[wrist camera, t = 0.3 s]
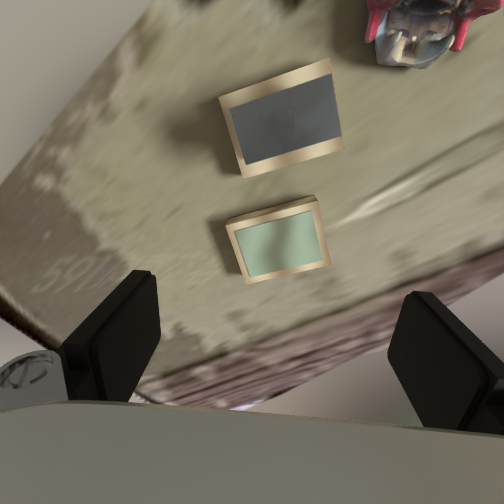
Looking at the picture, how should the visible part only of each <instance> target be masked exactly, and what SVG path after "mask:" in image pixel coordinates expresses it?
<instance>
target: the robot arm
mask: <svg viewBox="0 0 504 504" xmlns="http://www.w3.org/2000/svg"><path fill="white" fill-rule="evenodd" d="M160 337H161V328H160V317H159V306H158V295H157V283H156V277H155V275H152V274H151V272H150V271H144V270H133V271H132V272H131V273H130V274H129V275H128V276H127V277H126V278H125V279H124V280H123V281H122V282H121V283H120V284H119V285H118V286H117V287H116V288H115V289H114V290H113V291H112V292H111V293H110V294H109V295H108V296H107V297H106V299H105V300H104V301H103V302H102V303H101V304H100V305H99V306H98V307H97V308H96V309H95V310H94V311H93V312H92V313H91V314H90V315H89V316H88V317H87V318H86V319H85V320H84V321H83V322H82V323H81V324H80V325H79V326H78V327H77V328H76V329H75V330H74V331H73V332H72V333H71V334H70V336H69V337H68V338H67V339H66V340H65V341H64V342H63V343H62V345H61V346H60V347H59V348H58V349H57V350H56V352H54V351H48V350H41V351H33V352H30V353H26V354H23V355H21V356H18V357H16V358H14V359H12V360H11V361H9V362H7V363H6V364H4V365H3V366H2V367H1V368H0V504H504V363H503V362H502V361H501V360H500V359H499V358H498V357H497V356H496V355H495V354H494V353H493V352H492V351H491V350H490V349H489V348H488V347H487V346H486V345H485V344H484V343H482V341H481V340H480V339H479V338H478V337H477V336H476V335H475V334H474V333H473V332H471V331H470V330H469V329H468V328H467V327H466V326H465V325H464V324H463V323H462V322H461V321H460V320H459V319H458V318H457V317H456V316H455V315H454V314H453V313H452V312H451V311H450V310H449V309H448V308H447V307H446V306H445V305H444V304H443V303H442V302H441V301H440V300H439V299H438V298H437V297H436V296H435V295H434V294H433V293H431V292H422V291H412V292H411V293H410V294H408V295H406V297H405V299H404V302H403V305H402V308H401V311H400V314H399V318H398V321H397V324H396V327H395V330H394V333H393V336H392V339H391V342H390V345H389V348H388V360H389V362H390V364H391V366H392V368H393V370H394V372H395V374H396V375H397V377H398V379H399V381H400V383H401V385H402V387H403V389H404V391H405V392H406V394H407V396H408V398H409V400H410V402H411V404H412V406H413V407H414V409H415V411H416V413H417V415H418V417H419V419H420V421H421V422H422V424H423V426H424V427H417V426H406V425H396V424H395V425H394V424H385V423H374V422H363V421H352V420H341V419H329V418H318V417H307V416H295V415H283V414H272V413H260V412H248V411H236V410H224V409H211V408H199V407H187V406H174V405H162V404H147V403H133V402H128V401H129V399H130V397H131V396H132V394H133V392H134V390H135V388H136V386H137V384H138V382H139V380H140V378H141V376H142V374H143V372H144V370H145V368H146V366H147V365H148V363H149V361H150V359H151V357H152V355H153V353H154V351H155V349H156V347H157V345H158V343H159V341H160Z"/></svg>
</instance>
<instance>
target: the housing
mask: <svg viewBox="0 0 504 504" xmlns="http://www.w3.org/2000/svg"><path fill="white" fill-rule="evenodd" d="M229 110H230V114H231V117H232V120H233V124H234V127H235V131H236V134H237V137H238V141H239V144H240V147H241V151H242V154H243V158H244V161H245V164H246V165H249V164H252V163H255V162H259V161H262V160H265V159H268V158H272V157H275V156H278V155H281V154H285V153H288V152H291V151H294V150H298V149H301V148H304V147H307V146H311V145H314V144H317V143H320V142H324V141H327V140H330V139H333V138H337V137H340V136H342V134H341V128H340V121H339V115H338V109H337V103H336V97H335V90H334V84H333V78H332V73H331V74H328V75H325V76H322V77H319V78H316V79H313V80H310V81H308V82H305V83H302V84H299V85H296V86H293V87H290V88H287V89H284V90H282V91H279V92H276V93H273V94H270V95H267V96H264V97H261V98H259V99H256V100H253V101H250V102H247V103H244V104H241V105H238V106H235V107H233V108H230V109H229Z"/></svg>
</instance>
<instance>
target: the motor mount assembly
mask: <svg viewBox="0 0 504 504" xmlns="http://www.w3.org/2000/svg"><path fill="white" fill-rule="evenodd" d="M503 4H504V0H367V8H368V13H369V17H368V24H367V27H366V31H365V37H364V41H365V42H366V43H371V42H372V41H373V40H374V39H375V46H374V48H375V51H376V60H377V62H378V64H380V65H387V66H408V67H412V68H418V69H426V68H428V67H429V66H430V65H432V64H433V63H434V62H435V61H436V60H437V59H438V58H439V57H441V56H442V55H443V54H444V53H446V52H447V51H448V50H451V51H454V52H457V51H460V50H461V49H462V46H463V44H464V40H465V37H466V34H467V30H468V27H469V24H470V23H471V22H472V21H473V20H475V19H476V18H478V17H480V16H482V15H487V14H490V13H493V12H495V11H497V10H498V9H500V8H501V7H502V6H503Z"/></svg>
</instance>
